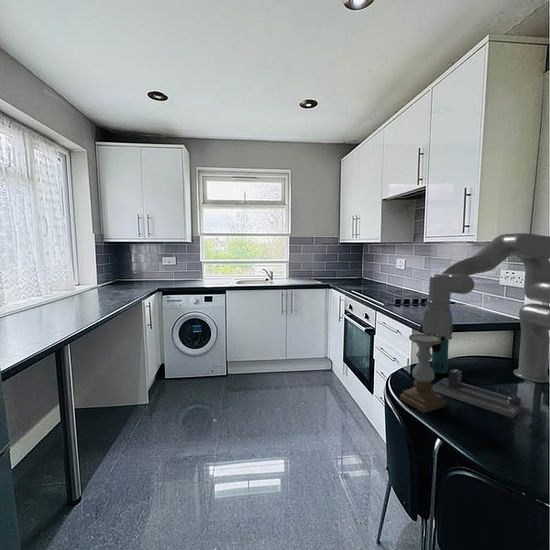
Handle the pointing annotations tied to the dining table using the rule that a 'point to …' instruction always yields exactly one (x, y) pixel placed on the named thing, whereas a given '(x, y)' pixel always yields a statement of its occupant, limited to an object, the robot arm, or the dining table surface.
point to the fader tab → (455, 378)
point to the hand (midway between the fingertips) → (436, 351)
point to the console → (481, 398)
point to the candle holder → (423, 377)
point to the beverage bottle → (440, 358)
